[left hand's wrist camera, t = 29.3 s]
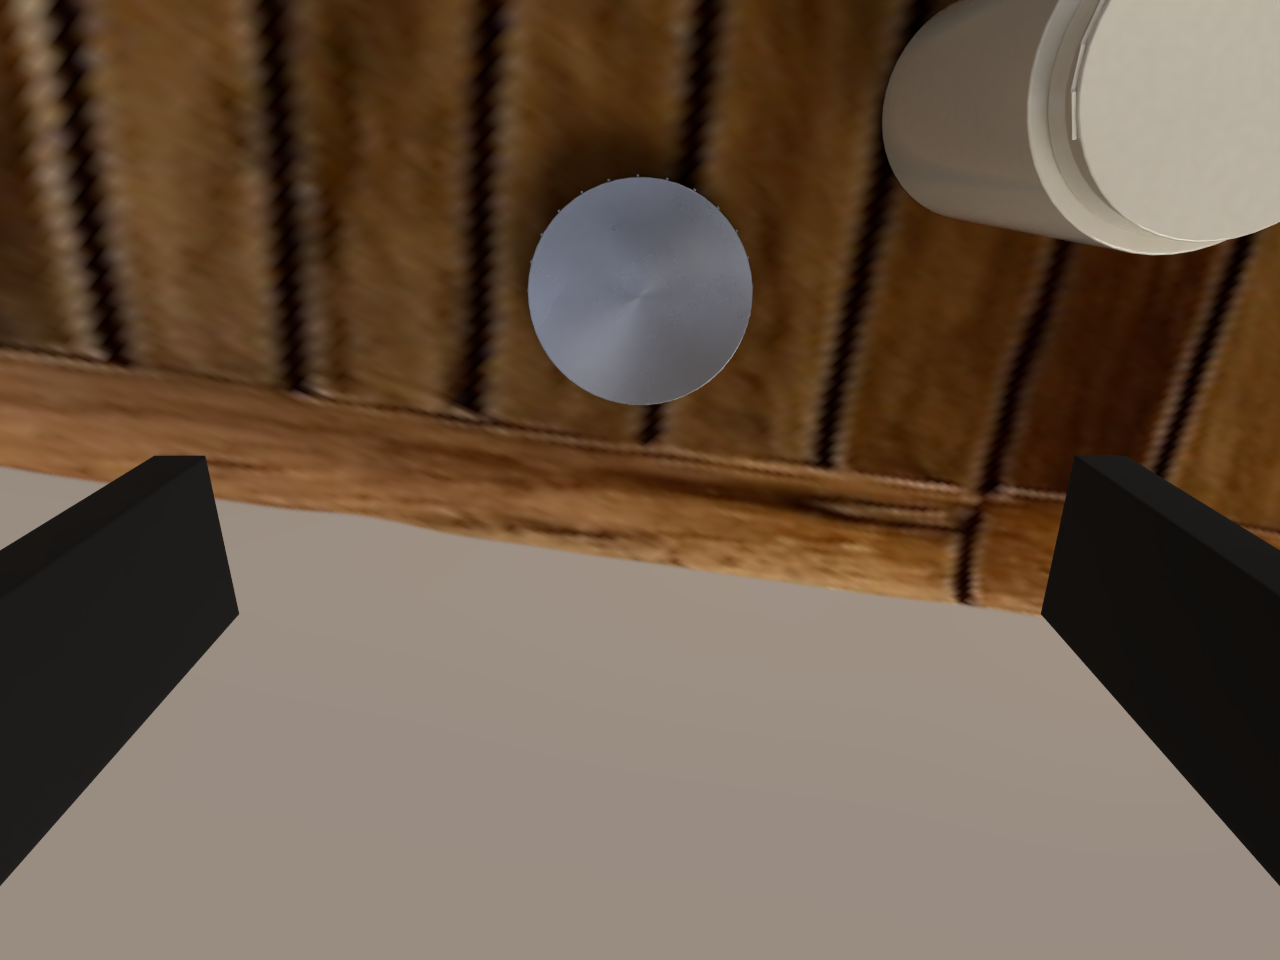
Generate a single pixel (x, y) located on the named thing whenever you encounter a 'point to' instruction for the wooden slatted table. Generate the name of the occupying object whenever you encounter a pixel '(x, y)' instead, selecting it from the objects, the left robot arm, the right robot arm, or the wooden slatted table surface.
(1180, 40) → the jar
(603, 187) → the lid
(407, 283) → the wooden slatted table surface
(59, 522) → the left robot arm
